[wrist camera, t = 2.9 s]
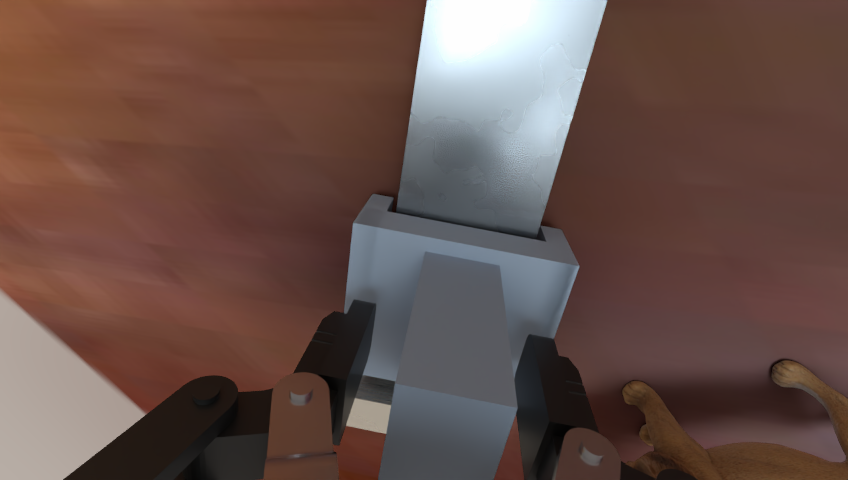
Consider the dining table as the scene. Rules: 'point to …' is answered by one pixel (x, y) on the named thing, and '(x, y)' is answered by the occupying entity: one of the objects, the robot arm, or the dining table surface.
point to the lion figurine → (738, 462)
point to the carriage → (452, 332)
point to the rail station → (488, 124)
